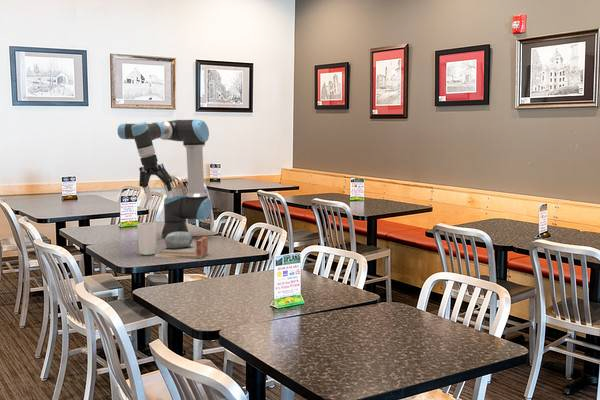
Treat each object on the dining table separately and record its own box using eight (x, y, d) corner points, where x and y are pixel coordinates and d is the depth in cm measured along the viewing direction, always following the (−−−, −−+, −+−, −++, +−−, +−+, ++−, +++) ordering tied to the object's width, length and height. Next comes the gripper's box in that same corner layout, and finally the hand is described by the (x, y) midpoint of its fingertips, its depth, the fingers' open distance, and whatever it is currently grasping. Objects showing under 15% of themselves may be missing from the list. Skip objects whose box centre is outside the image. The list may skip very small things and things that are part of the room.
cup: (158, 254, 312) (157, 223, 310) (145, 256, 307) (144, 225, 305) (149, 252, 317) (148, 222, 315) (136, 254, 312) (135, 223, 310)
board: (163, 252, 317) (163, 235, 316) (207, 253, 314) (207, 236, 313) (155, 257, 305) (154, 239, 304) (200, 258, 302) (200, 241, 301)
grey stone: (190, 238, 339) (187, 223, 333) (195, 249, 332) (192, 234, 326) (164, 246, 335) (161, 231, 329) (169, 257, 328) (166, 242, 322)
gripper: (124, 160, 310) (136, 203, 314) (161, 154, 296) (173, 199, 300) (135, 156, 316) (147, 198, 320) (172, 150, 302) (184, 194, 306)
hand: (160, 198), depth 310 cm, fingers open, 13 cm apart
